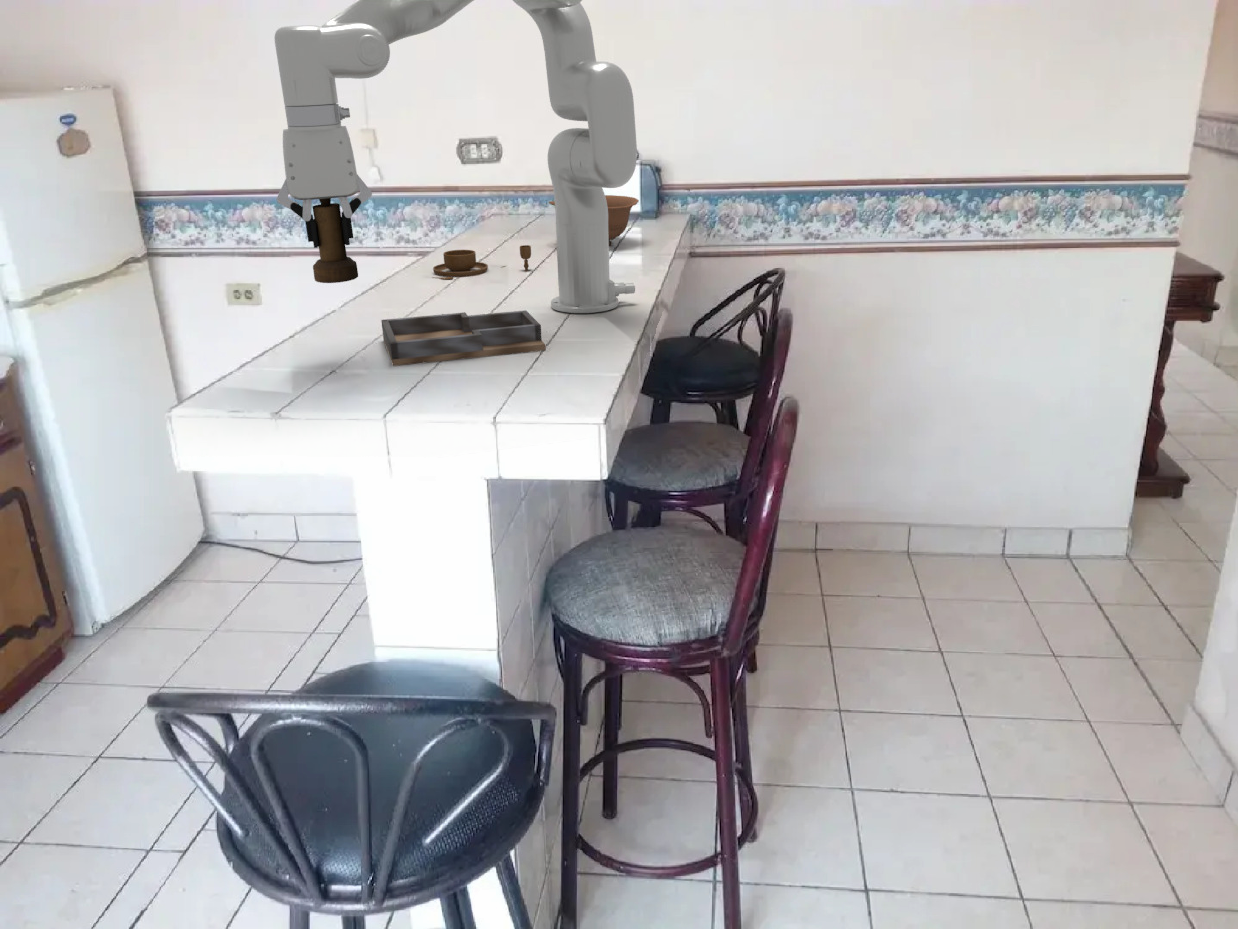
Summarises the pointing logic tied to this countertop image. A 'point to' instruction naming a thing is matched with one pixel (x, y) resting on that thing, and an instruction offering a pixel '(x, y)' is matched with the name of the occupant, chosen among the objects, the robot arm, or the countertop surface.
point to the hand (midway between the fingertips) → (331, 243)
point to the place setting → (469, 263)
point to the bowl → (617, 214)
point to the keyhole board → (460, 336)
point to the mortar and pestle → (331, 246)
